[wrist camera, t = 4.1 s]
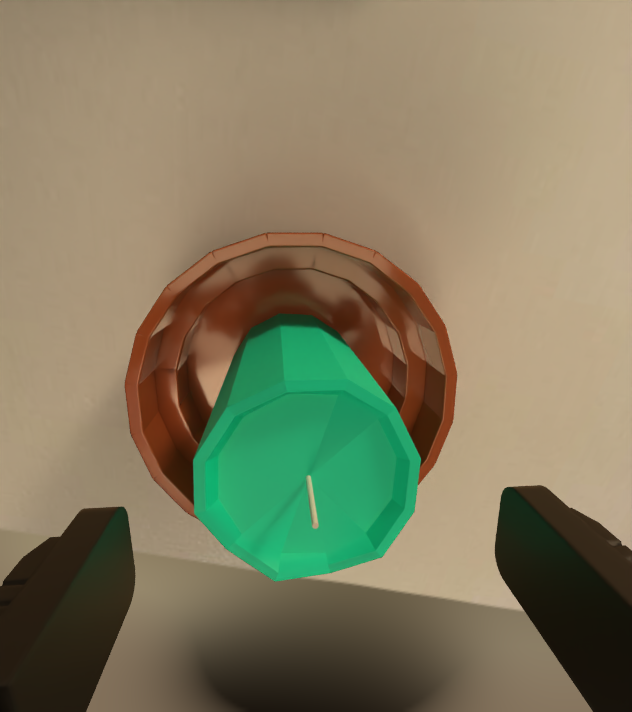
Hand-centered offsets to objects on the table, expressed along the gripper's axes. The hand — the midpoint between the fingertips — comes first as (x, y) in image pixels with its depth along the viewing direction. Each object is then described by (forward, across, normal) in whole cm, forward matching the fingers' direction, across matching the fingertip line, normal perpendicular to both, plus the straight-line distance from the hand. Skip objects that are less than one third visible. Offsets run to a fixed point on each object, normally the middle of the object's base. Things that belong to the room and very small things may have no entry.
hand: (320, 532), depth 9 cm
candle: (+12, 0, 0) cm, 13 cm away
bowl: (+13, 0, 0) cm, 13 cm away
